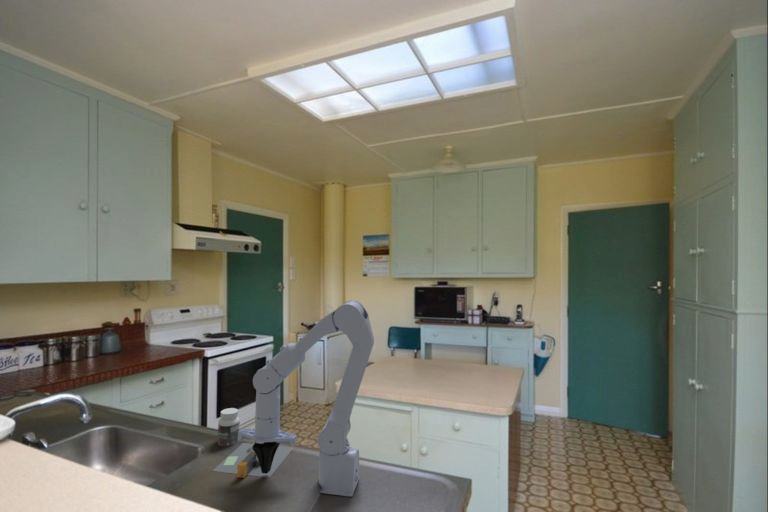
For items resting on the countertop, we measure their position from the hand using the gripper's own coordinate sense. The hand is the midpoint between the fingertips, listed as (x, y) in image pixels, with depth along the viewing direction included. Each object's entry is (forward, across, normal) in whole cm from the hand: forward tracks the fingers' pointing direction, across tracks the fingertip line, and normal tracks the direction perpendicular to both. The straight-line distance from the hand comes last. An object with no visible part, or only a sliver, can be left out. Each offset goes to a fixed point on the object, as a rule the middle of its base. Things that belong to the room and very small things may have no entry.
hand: (266, 471), depth 95 cm
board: (+2, -7, +7) cm, 10 cm away
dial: (+1, -6, +3) cm, 7 cm away
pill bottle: (+3, -19, +14) cm, 24 cm away
